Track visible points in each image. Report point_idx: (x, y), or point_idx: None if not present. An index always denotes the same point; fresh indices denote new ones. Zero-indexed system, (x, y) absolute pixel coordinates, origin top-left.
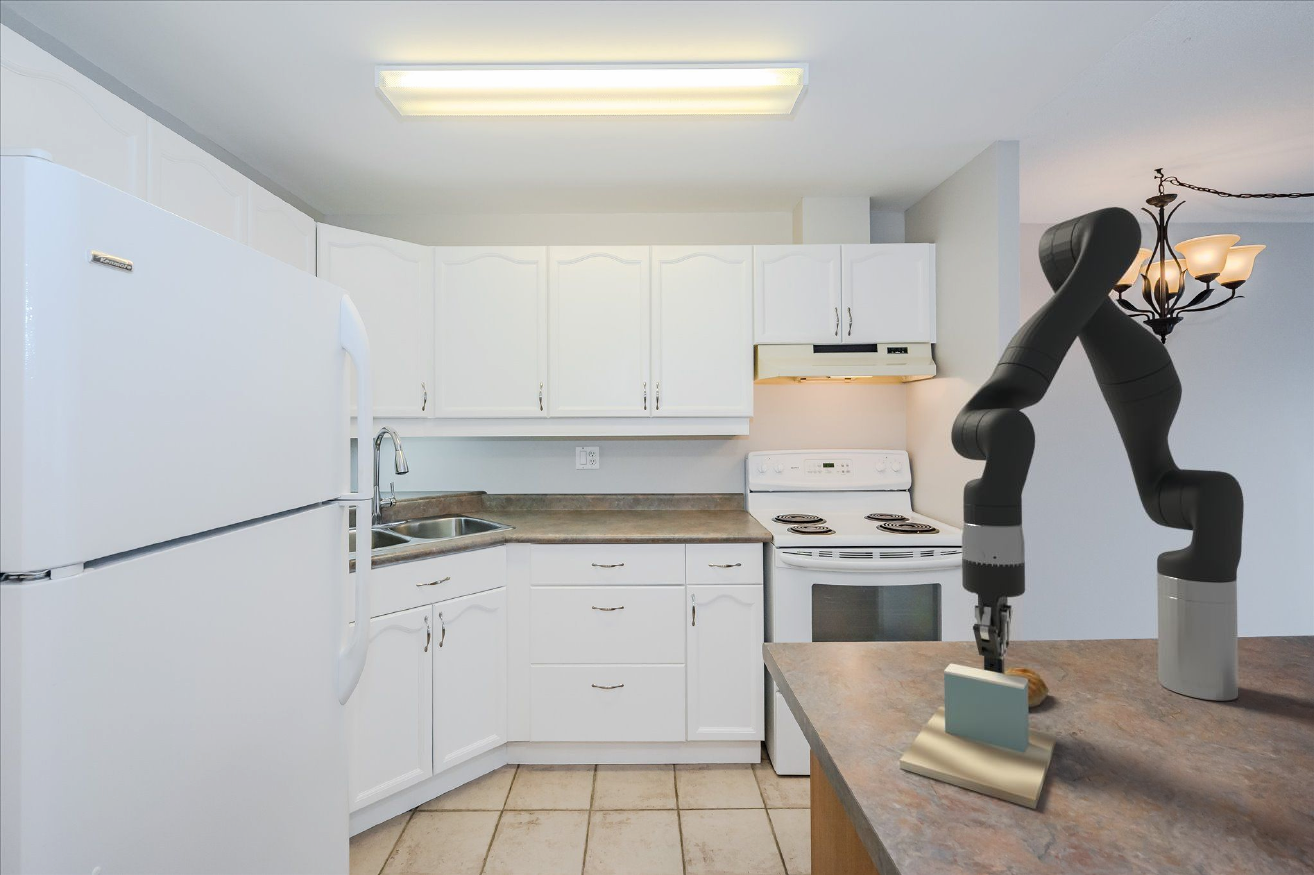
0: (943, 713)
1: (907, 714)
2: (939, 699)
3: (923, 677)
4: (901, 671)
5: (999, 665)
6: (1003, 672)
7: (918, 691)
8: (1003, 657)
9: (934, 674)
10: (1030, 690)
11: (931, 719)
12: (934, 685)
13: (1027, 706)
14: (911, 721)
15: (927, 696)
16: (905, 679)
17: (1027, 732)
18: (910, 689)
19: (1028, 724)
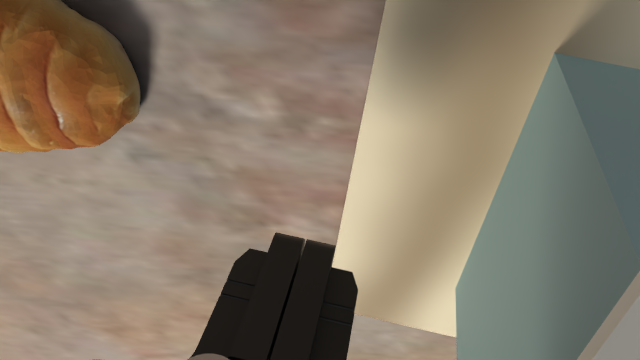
0: (378, 301)
1: (379, 356)
2: (209, 281)
3: (63, 307)
4: (64, 349)
5: (311, 348)
6: (283, 284)
7: (184, 324)
8: (238, 358)
9: (13, 281)
10: (4, 27)
11: (449, 333)
12: (104, 286)
13: (627, 159)
14: (428, 351)
15: (207, 307)
16: (116, 345)
17: (603, 87)
18: (183, 339)
19: (569, 92)
